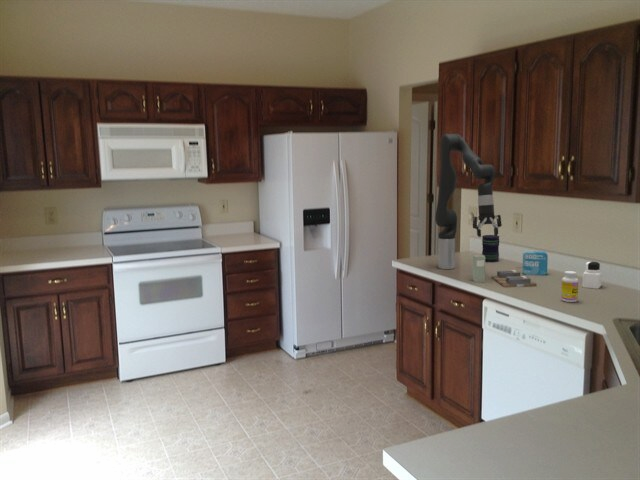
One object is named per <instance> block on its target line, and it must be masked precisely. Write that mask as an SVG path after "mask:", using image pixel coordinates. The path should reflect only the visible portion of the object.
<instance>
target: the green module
mask: <svg viewBox="0 0 640 480" xmlns="http://www.w3.org/2000/svg"><path fill="white" fill-rule="evenodd" d="M472 281H474V282H475V283H477V282H478V283H479V282H481V283H482V282H486V262H485V256H484V255H482V254H473V255H472Z"/></svg>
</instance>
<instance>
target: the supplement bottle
mask: <svg viewBox="0 0 640 480" xmlns="http://www.w3.org/2000/svg"><path fill="white" fill-rule="evenodd" d="M576 276H577V272H576V271H572V270H567V271H564V276H563V277H562V278H561V292H560V293H561V295H560V298H561V299H560V300H561V301H563V302H566V303H576V302H578V298H579V296H578V295H579V279H578V278H577V277H576Z"/></svg>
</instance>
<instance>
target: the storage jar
mask: <svg viewBox="0 0 640 480" xmlns="http://www.w3.org/2000/svg"><path fill="white" fill-rule="evenodd" d="M481 237H482V240H481V245H482V251H481V255H484V256H485V263H498V262H499V261H500V251H499V249H500V247H499V246H500V236H499V235H497V236H495V235H494V234H484V235H481Z"/></svg>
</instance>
